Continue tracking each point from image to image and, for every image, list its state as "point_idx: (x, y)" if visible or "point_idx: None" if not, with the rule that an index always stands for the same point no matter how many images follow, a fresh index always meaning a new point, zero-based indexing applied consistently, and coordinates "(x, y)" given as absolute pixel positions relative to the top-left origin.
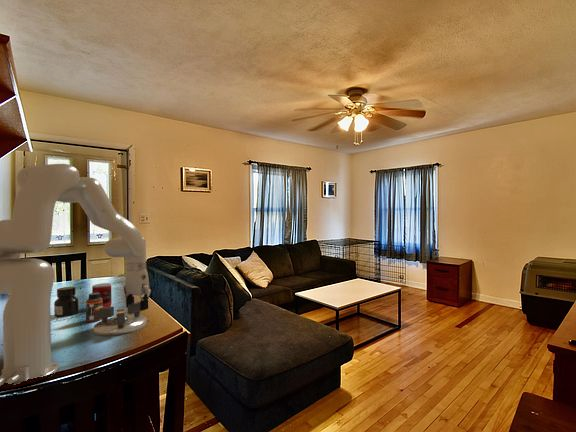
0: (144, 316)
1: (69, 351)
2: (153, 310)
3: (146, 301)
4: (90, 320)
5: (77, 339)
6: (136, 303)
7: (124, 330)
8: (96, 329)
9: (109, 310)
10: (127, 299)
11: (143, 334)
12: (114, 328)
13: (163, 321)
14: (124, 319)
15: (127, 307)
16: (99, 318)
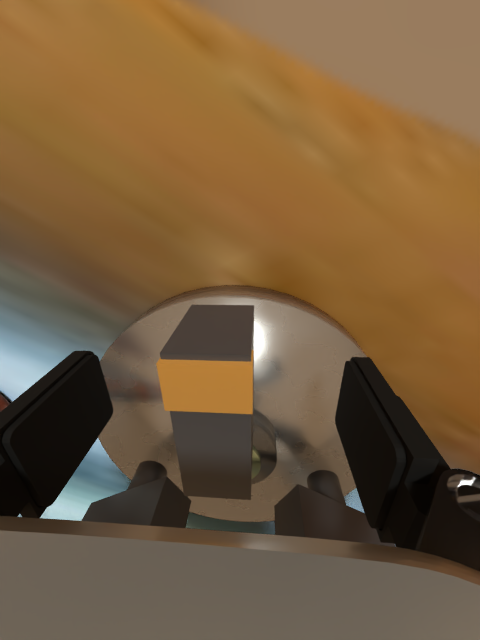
0: (277, 309)
1: None
2: (18, 22)
3: (437, 470)
4: None
5: (217, 528)
6: (235, 450)
7: None
8: (234, 520)
9: None
10: (58, 492)
11: (469, 426)
12: None
13: (435, 224)
14: (276, 459)
15: (110, 408)
16: (1, 410)
